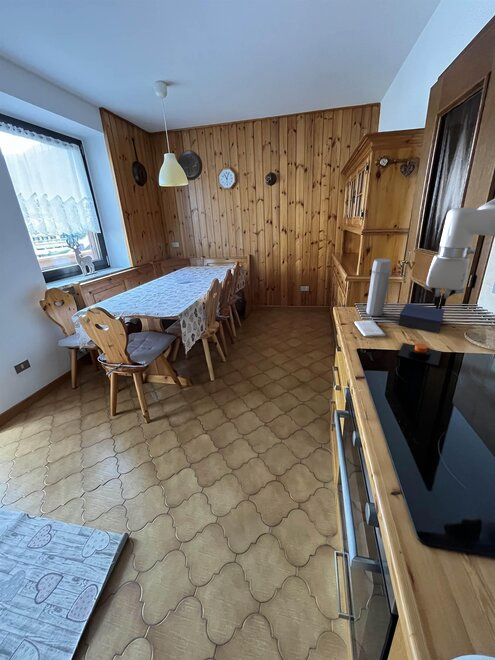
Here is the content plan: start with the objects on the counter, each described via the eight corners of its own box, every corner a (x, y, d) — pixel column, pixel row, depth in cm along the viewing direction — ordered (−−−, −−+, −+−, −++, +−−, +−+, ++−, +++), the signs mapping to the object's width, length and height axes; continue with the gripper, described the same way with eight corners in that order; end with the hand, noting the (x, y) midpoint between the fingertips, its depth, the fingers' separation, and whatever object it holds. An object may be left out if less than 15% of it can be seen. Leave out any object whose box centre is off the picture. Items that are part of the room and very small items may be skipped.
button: (427, 349, 98) (428, 345, 97) (425, 354, 95) (426, 349, 94) (415, 346, 100) (416, 342, 99) (413, 351, 97) (414, 346, 96)
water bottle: (361, 313, 133) (369, 260, 122) (373, 309, 136) (381, 257, 125) (378, 319, 126) (387, 264, 114) (390, 315, 129) (400, 261, 117)
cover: (440, 323, 109) (441, 321, 109) (399, 315, 118) (399, 314, 117) (444, 311, 120) (444, 309, 119) (406, 304, 128) (406, 303, 127)
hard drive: (373, 323, 123) (385, 337, 112) (354, 324, 123) (364, 338, 112) (373, 320, 122) (385, 333, 111) (354, 321, 122) (364, 334, 111)
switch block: (440, 354, 99) (442, 347, 97) (437, 368, 92) (439, 361, 90) (402, 345, 105) (404, 338, 104) (396, 358, 98) (398, 351, 97)
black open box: (437, 333, 112) (440, 323, 110) (397, 325, 120) (399, 315, 118) (441, 320, 122) (444, 311, 120) (404, 313, 130) (406, 305, 128)
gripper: (483, 251, 84) (466, 307, 93) (426, 248, 93) (415, 300, 101) (484, 256, 79) (465, 316, 87) (422, 253, 87) (411, 307, 96)
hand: (438, 307), depth 94 cm, fingers closed
